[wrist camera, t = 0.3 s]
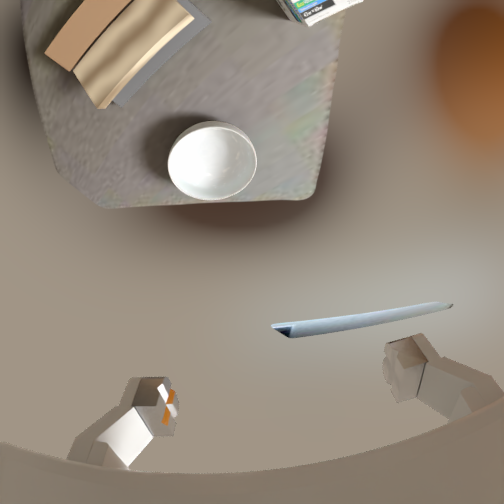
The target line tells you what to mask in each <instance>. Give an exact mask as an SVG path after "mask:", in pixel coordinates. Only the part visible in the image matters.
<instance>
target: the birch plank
mask: <svg viewBox="0 0 504 504" xmlns="http://www.w3.org/2000/svg"><path fill="white" fill-rule="evenodd" d="M194 19H195V18H194V17H193V16H192V15H191V14H190V13H189V12H188V11H187V10H186V9H185V8H184V7H183V6H182V5H181V4H180V3H179V2H178V1H177V0H134V1H133V2H132V3H131V4H130V5H129V6H128V7H127V8H126V9H125V10H124V11H123V12H122V13H121V15H120V16H119V17H118V18H117V19H116V20H115V21H114V22H113V23H112V24H111V25H110V26H109V27H108V29H107V30H106V31H105V32H104V33H103V34H102V35H101V37H100V38H99V39H98V40H97V41H96V42H95V44H94V45H93V46H92V47H91V48H90V50H89V51H88V52H87V53H86V55H85V56H84V57H83V58H82V60H81V61H80V62H79V64H78V65H77V66H76V68H75V69H74V70H73V72H74V73H75V75H76V77H77V78H78V80H79V81H80V83H81V84H82V86H83V88H84V89H85V91H86V92H87V94H88V95H89V97H90V98H91V100H92V101H93V103H94V104H95V106H96V107H97V109H105V108H106V107H107V106H108V105H109V103H110V102H111V101H112V100H113V99H114V98H115V96H116V95H117V94H118V93H119V92H120V91H121V90H122V88H123V87H124V86H125V85H126V84H127V83H128V82H129V81H130V80H131V78H132V77H133V76H134V75H135V74H136V73H137V72H138V71H139V70H140V69H141V68H142V67H143V66H144V65H145V64H146V63H147V62H148V61H149V60H150V59H151V58H152V57H153V56H154V55H155V54H156V53H157V52H158V51H159V50H160V49H161V48H162V47H163V46H164V45H165V44H166V43H167V42H169V41H170V40H171V39H172V38H173V37H174V36H175V35H176V34H177V33H179V32H180V31H181V30H182V29H183V28H184V27H185V26H187V25H188V24H189V23H190V22H191V21H192V20H194Z"/></svg>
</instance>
